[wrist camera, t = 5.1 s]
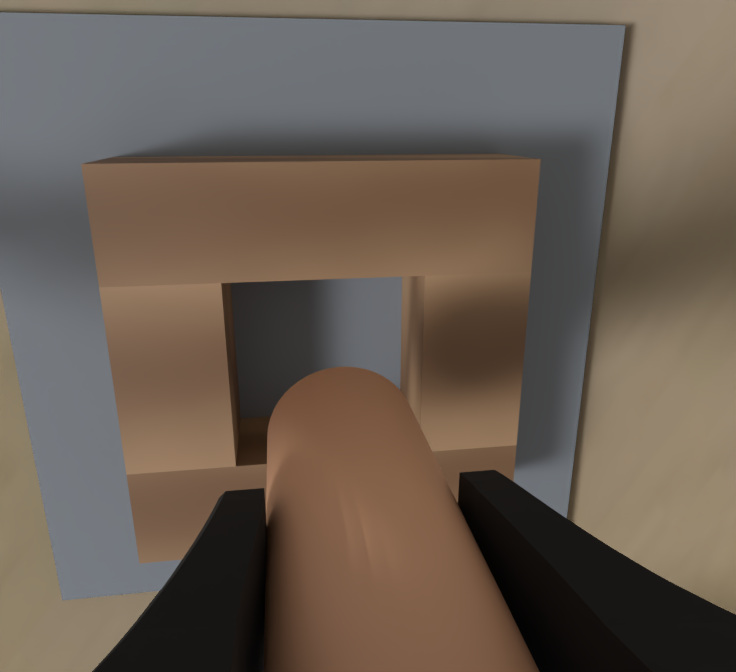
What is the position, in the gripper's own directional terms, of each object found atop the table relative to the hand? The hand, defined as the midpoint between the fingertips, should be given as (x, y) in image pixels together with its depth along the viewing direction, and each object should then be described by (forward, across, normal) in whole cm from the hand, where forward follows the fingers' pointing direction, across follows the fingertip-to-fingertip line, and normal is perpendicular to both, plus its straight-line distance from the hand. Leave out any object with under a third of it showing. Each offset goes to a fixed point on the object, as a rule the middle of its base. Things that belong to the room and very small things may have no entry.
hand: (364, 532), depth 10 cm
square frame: (+10, 0, 0) cm, 10 cm away
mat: (+10, 0, 0) cm, 10 cm away
